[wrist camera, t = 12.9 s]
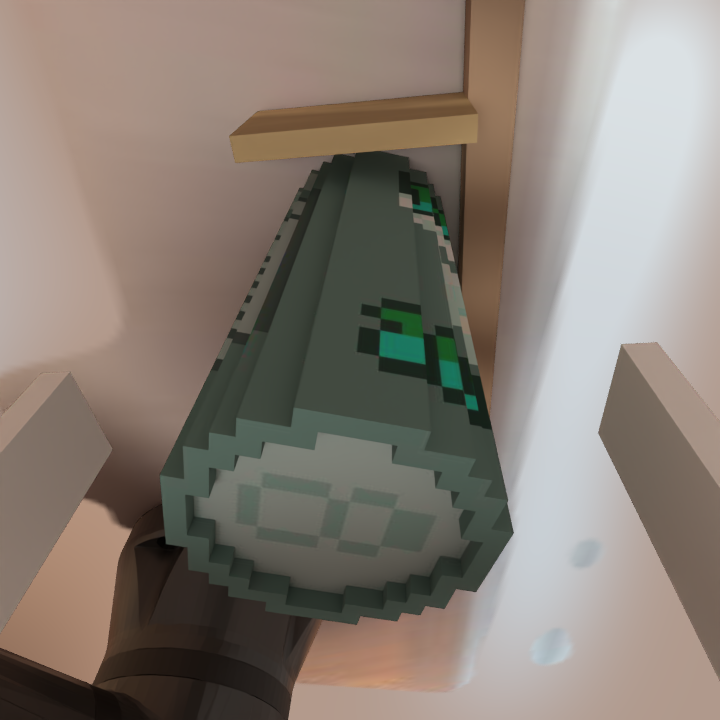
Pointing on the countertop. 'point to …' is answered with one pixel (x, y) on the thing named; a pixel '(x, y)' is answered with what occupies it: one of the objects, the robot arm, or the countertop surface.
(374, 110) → the notch rack
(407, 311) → the can
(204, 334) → the countertop surface
